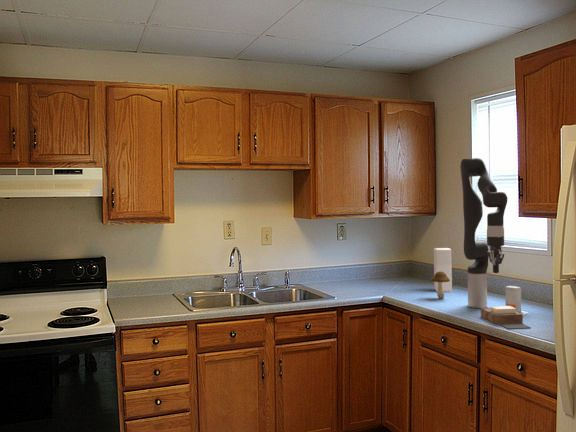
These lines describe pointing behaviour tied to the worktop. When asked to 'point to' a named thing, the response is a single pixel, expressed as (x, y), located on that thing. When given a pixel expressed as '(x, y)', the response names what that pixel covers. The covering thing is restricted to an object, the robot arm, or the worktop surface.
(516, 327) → the mat
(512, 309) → the cream rectangular block
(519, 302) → the skincare box
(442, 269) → the tall white carton
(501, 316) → the brown flat block
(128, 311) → the worktop surface
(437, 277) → the mushroom
